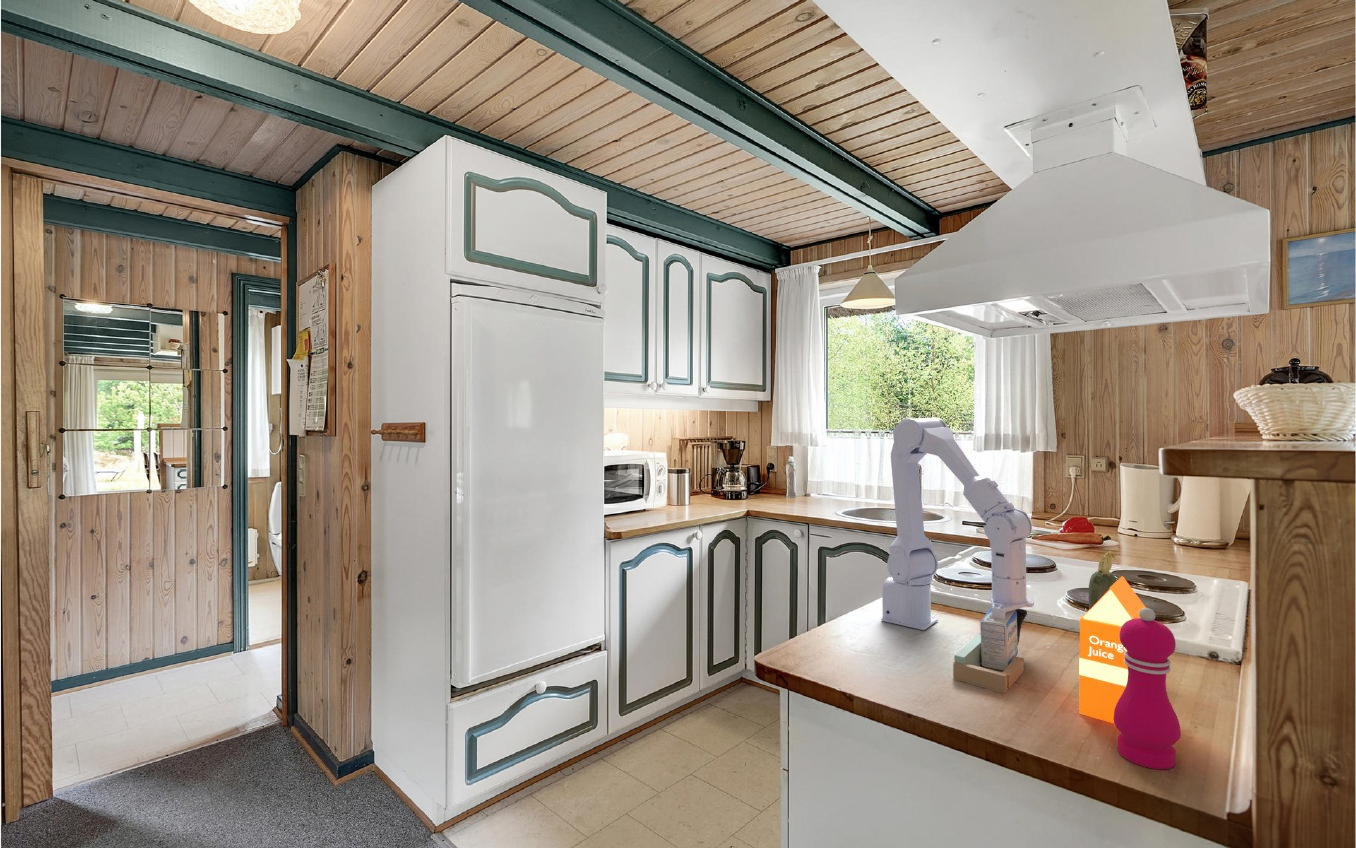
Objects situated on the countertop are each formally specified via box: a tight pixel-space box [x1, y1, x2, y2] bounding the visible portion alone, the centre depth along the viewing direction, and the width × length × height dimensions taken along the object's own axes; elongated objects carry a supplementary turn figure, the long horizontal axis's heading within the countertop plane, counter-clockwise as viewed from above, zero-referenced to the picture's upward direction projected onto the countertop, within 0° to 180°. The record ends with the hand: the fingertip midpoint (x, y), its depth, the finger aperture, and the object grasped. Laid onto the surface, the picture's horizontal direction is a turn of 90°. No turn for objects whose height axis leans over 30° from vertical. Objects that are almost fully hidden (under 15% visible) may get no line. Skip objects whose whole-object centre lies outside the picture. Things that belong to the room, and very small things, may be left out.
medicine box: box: [979, 606, 1019, 672], centre depth 116 cm, size 8×4×9 cm, turn 141°
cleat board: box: [952, 632, 1025, 694], centre depth 114 cm, size 8×21×4 cm, turn 138°
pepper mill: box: [1113, 607, 1182, 770], centre depth 85 cm, size 7×7×20 cm
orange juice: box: [1078, 575, 1147, 724], centre depth 97 cm, size 8×9×20 cm
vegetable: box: [1088, 550, 1118, 611], centre depth 117 cm, size 4×4×20 cm
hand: (1009, 647), depth 119 cm, fingers closed
